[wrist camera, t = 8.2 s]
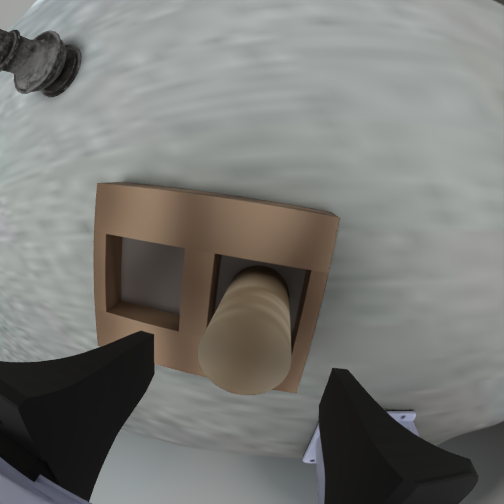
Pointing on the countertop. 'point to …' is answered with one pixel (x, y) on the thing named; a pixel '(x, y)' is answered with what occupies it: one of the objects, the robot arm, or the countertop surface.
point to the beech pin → (249, 334)
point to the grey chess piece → (39, 62)
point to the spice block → (201, 265)
